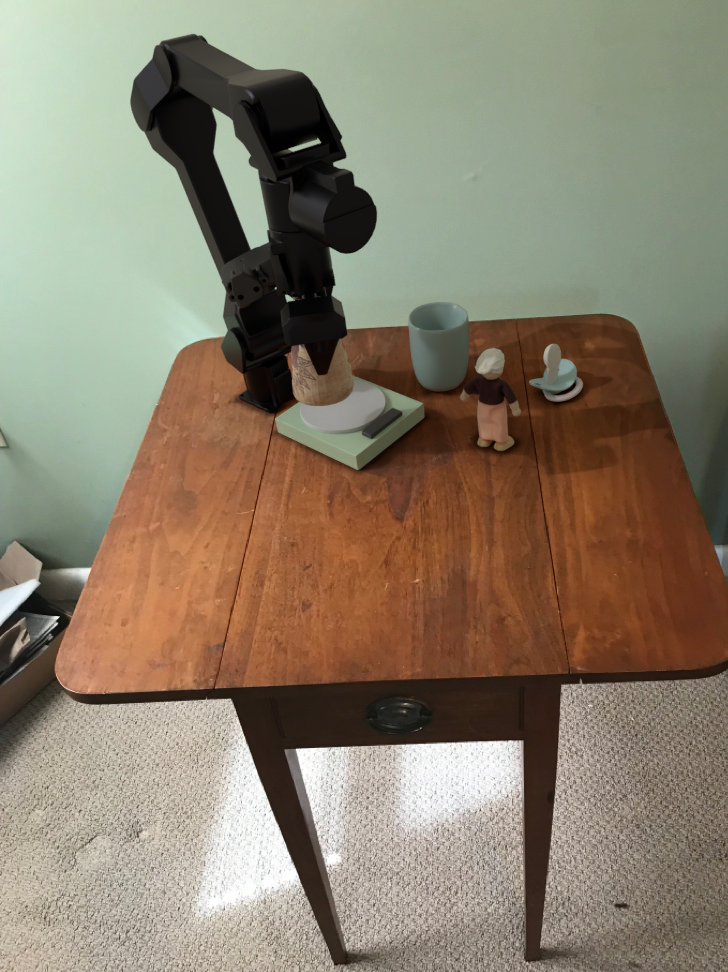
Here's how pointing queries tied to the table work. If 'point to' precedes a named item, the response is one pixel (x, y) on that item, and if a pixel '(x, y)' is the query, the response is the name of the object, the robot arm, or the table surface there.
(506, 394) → the grandmother figurine
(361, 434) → the kitchen scale
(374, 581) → the table surface
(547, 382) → the pacifier
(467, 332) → the cup
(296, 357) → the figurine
